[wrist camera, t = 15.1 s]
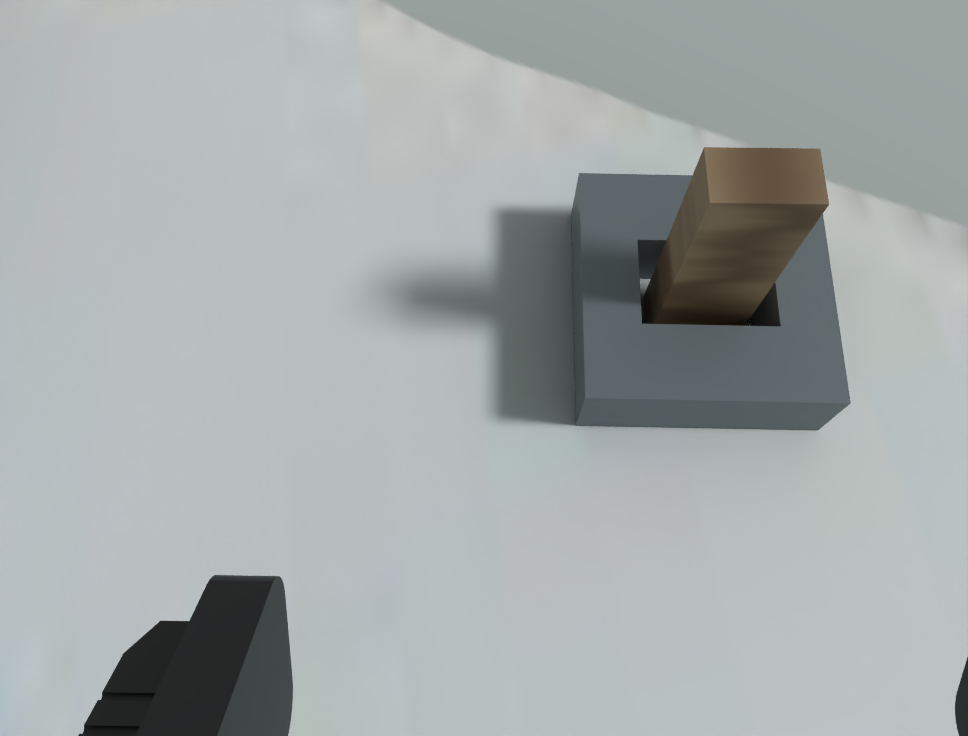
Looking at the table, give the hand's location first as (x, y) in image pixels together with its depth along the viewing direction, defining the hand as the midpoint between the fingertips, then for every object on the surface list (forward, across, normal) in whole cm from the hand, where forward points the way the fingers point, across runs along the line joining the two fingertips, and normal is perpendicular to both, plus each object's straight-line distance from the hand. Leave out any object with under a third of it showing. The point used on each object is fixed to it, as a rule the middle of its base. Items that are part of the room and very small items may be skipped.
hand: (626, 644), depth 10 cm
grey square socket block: (+35, -9, +8) cm, 37 cm away
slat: (+35, -9, +9) cm, 37 cm away
